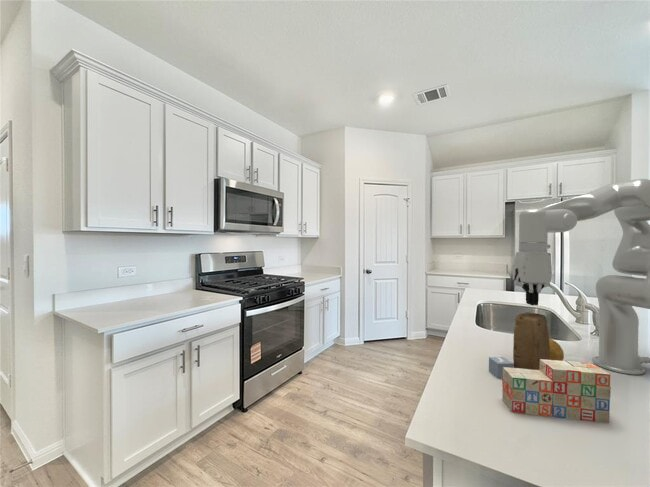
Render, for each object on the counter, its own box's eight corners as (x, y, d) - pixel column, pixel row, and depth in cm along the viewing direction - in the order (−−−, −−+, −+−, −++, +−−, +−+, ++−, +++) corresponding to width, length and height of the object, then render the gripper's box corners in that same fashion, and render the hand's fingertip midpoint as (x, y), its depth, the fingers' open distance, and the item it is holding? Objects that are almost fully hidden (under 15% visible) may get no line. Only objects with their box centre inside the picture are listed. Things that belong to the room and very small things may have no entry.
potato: (554, 343, 96) (567, 336, 101) (512, 334, 108) (525, 328, 112) (557, 371, 96) (570, 363, 101) (515, 359, 108) (528, 351, 113)
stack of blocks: (511, 413, 74) (511, 365, 73) (501, 399, 80) (502, 355, 79) (610, 424, 69) (611, 373, 69) (592, 409, 75) (592, 362, 75)
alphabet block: (503, 371, 96) (503, 356, 96) (513, 379, 91) (513, 362, 91) (488, 371, 96) (488, 356, 96) (497, 379, 91) (497, 362, 91)
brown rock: (536, 384, 88) (537, 319, 87) (510, 374, 94) (510, 313, 94) (552, 375, 93) (553, 314, 93) (527, 366, 99) (527, 309, 99)
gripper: (547, 247, 96) (546, 302, 97) (502, 247, 97) (501, 301, 97) (565, 248, 89) (564, 307, 89) (517, 248, 89) (516, 307, 89)
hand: (532, 304), depth 93 cm, fingers closed
